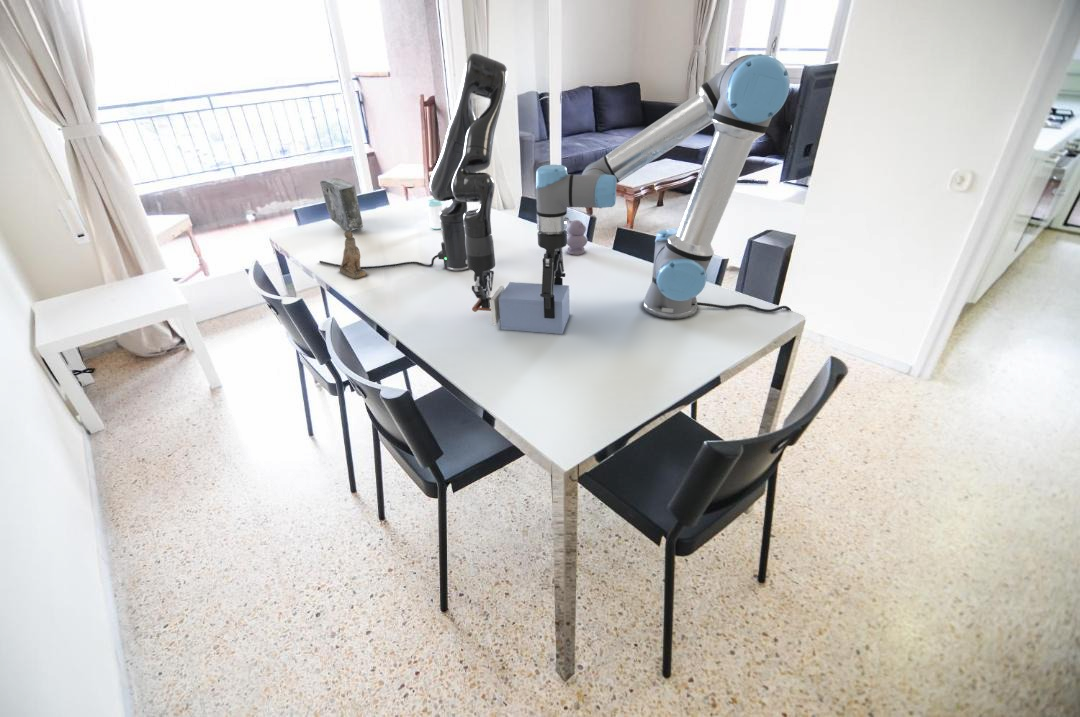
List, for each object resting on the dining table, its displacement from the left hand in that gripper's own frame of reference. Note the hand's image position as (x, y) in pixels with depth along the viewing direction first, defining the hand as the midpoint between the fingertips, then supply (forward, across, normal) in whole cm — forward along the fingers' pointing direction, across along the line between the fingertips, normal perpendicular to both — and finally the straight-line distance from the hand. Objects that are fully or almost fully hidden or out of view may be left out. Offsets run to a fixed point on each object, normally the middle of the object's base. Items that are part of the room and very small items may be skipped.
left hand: (486, 308), depth 143 cm
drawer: (+2, 0, -8) cm, 9 cm away
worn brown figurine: (+3, +27, +59) cm, 65 cm away
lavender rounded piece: (+3, +59, -17) cm, 62 cm away
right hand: (-2, 0, -20) cm, 20 cm away
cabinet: (+3, 0, -15) cm, 15 cm away
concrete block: (+3, +78, +91) cm, 120 cm away
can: (+3, +83, +50) cm, 97 cm away
